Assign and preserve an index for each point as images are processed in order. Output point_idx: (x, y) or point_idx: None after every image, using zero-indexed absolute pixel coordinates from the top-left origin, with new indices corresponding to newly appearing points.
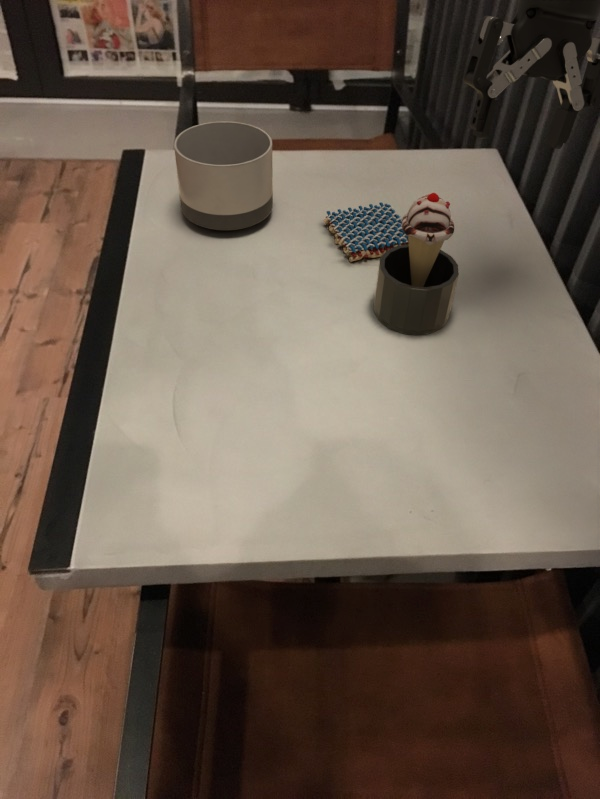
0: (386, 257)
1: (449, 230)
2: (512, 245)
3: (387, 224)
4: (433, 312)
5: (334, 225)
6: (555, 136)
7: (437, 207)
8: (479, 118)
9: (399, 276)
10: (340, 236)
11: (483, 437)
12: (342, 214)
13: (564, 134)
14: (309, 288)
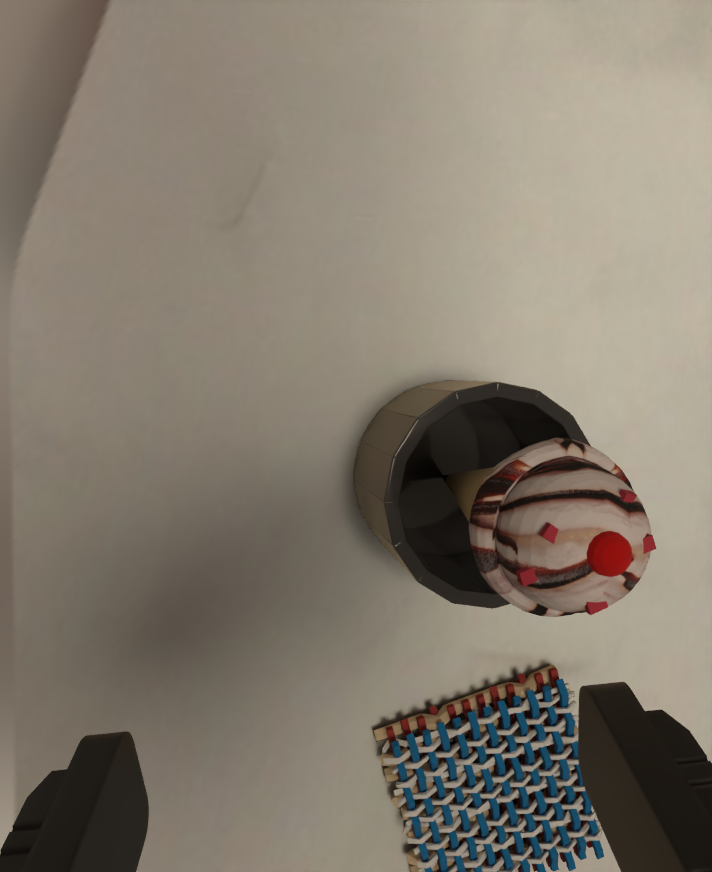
0: None
1: (508, 475)
2: None
3: (458, 809)
4: (439, 386)
5: None
6: (116, 804)
7: (596, 508)
8: (704, 763)
9: None
10: None
11: (374, 30)
12: (565, 846)
13: (69, 792)
14: (654, 560)
